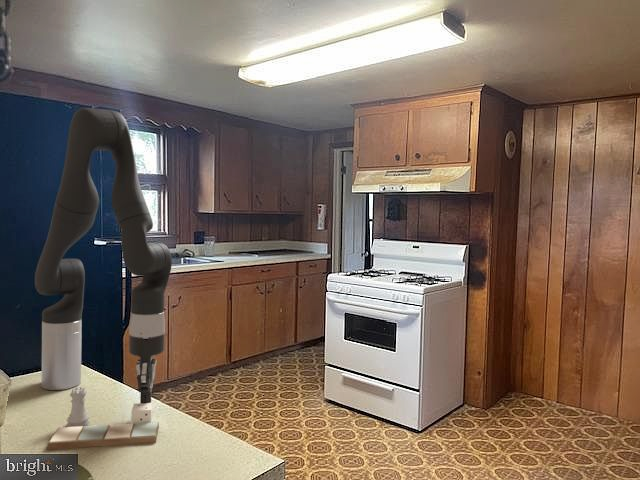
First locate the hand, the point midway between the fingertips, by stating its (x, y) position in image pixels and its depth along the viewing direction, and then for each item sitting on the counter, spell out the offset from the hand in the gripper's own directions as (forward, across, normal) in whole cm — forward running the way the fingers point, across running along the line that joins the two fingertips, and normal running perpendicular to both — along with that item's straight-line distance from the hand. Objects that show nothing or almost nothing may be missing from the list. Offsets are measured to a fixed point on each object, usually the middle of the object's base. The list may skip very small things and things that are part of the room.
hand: (145, 406), depth 112 cm
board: (+2, +9, -7) cm, 12 cm away
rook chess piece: (+3, +2, -14) cm, 14 cm away
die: (+2, +4, 0) cm, 4 cm away
